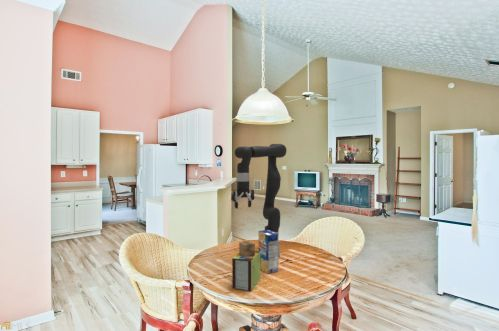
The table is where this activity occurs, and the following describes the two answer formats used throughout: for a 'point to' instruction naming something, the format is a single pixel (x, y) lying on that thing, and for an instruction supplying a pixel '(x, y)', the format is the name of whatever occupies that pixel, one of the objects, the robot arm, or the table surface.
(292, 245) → the table surface
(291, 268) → the table surface
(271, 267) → the beverage box
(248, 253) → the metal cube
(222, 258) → the table surface
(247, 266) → the protein box
